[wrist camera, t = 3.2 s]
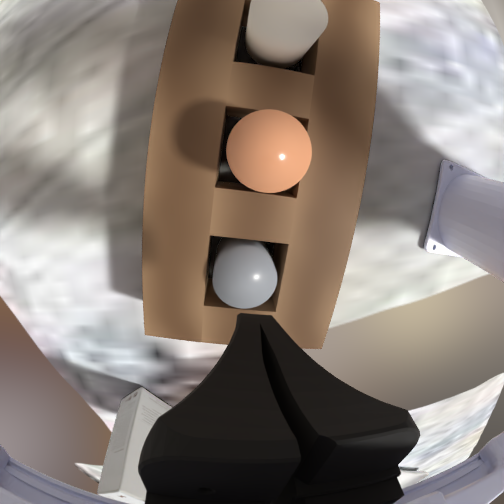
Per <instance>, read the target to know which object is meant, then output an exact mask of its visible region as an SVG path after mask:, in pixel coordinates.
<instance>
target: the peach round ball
mask: <svg viewBox="0 0 504 504" xmlns="http://www.w3.org/2000/svg"><path fill="white" fill-rule="evenodd" d="M226 153H227V160H228V164H229V166H230V169H231V170H232V172H233V174H234V175H235V177H236V178H237V179H238V180H239V181H240V182H241V183H243V184H244V185H245V186H247V187H248V188H251V189H253V190H255V191H258V192H263V193H276V192H281V191H284V190H287V189H289V188H291V187H292V186H294V185H295V184H297V183H298V182H299V181H300V180H301V179H302V178H303V176H304V175H305V174H306V172H307V170H308V168H309V165H310V162H311V157H312V146H311V141H310V138H309V135H308V133H307V131H306V130H305V128H304V127H303V125H302V124H301V123H300V122H299V121H298V120H297V119H295V118H294V117H293V116H291V115H289V114H287V113H285V112H282V111H279V110H272V109H264V110H258V111H255V112H252V113H250V114H248V115H246V116H245V117H243V118H242V119H241V120H240V121H239V122H238V123H237V124H236V125H235V126H234V128H233V129H232V131H231V133H230V135H229V138H228V141H227V148H226Z"/></svg>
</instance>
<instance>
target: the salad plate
mask: <svg viewBox="0 0 504 504" xmlns="http://www.w3.org/2000/svg"><path fill="white" fill-rule="evenodd" d="M400 471H401V475H400V476H399V477H397V479H398V481H399V483H400V486H401V488H402V489H403V488H405V487H408V486H411V485H413V484H416V483H417V482H419V481H420V480H422V479H423V478H425V477H426V476H427V475H429V473H427V472H424V471H405V470H400Z"/></svg>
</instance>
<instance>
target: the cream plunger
mask: <svg viewBox="0 0 504 504" xmlns="http://www.w3.org/2000/svg"><path fill="white" fill-rule="evenodd" d="M327 24H328V13H327V10H326V8H325V6H324V4H323V3H322V1H321V0H252V1H251V3H250V9H249V16H248V22H247V29H246V36H245V47H246V50H247V52H248V54H249V55H250V56H251V58H252V59H253V60H255V61H256V62H257V63H259V64H261V65H263V66H269V67H275V68H281V69H282V68H288V67H291V66H293V65H295V64H296V63H298V62H299V61H300V60H301V59H302V57H303V56H304V55H305V54H306V52H307V51H308V50H309V49H310V47H311V46H312V45H313V44H314V42H315V41H316V40H317V39H318V38H319V36H320V35H321V34H322V33H323V32H324V30H325V29H326V27H327Z"/></svg>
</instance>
